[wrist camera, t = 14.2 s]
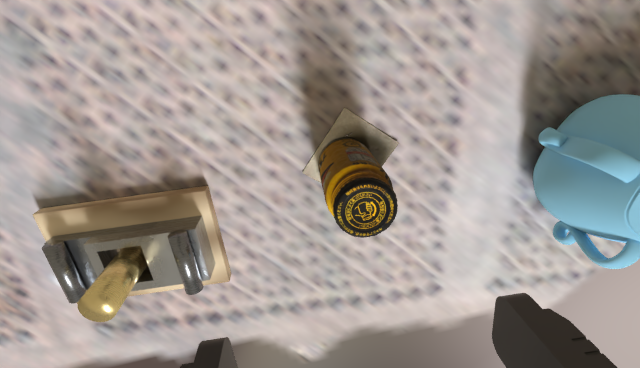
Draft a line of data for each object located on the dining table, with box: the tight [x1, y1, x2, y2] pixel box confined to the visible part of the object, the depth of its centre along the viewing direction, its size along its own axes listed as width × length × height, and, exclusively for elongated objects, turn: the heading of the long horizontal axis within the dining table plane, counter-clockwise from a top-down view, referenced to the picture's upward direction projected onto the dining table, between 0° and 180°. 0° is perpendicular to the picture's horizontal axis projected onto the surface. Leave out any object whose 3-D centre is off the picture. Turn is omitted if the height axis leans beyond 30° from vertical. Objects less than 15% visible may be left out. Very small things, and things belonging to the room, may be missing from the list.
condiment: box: [303, 108, 399, 237], centre depth 32 cm, size 7×8×12 cm
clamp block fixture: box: [33, 186, 231, 304], centre depth 37 cm, size 12×18×6 cm, turn 96°
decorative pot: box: [533, 94, 640, 269], centre depth 34 cm, size 20×20×14 cm
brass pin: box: [78, 246, 148, 322], centre depth 34 cm, size 3×3×9 cm
